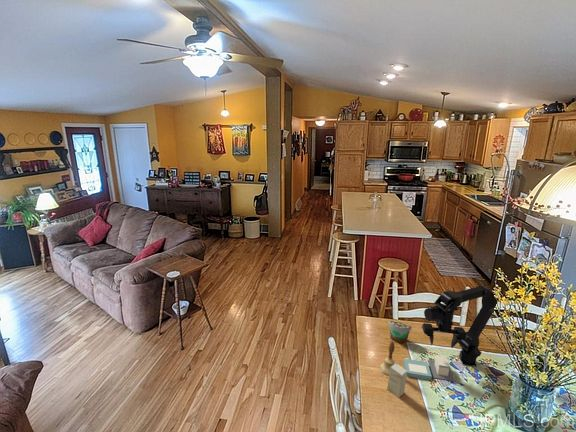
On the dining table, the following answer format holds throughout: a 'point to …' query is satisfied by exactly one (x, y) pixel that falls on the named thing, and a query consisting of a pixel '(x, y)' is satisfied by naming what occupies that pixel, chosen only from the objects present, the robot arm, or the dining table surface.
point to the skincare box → (397, 379)
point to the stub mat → (435, 375)
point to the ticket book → (417, 368)
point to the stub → (442, 365)
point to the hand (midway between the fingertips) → (441, 345)
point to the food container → (399, 331)
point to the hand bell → (388, 360)
